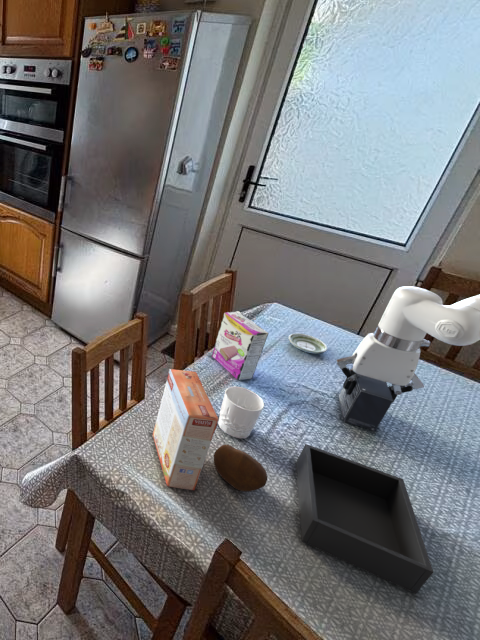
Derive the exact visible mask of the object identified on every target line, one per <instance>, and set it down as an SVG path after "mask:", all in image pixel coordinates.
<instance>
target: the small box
mask: <svg viewBox="0 0 480 640" xmlns="http://www.w3.org/2000/svg"><path fill="white" fill-rule="evenodd" d="M355 382H356V385H355V387H354V389H353V391H352V393H351V395H348V394H346V391H345V389H344V388H343V387H342V388H341V390H340V392H339V394H338V401H339V407H340V411H341V415H342V421H343V422H346V423H348V424H352V425H354V426H357V427H361V428H363V429H367V430H370V431H373V432H376V431H377V429H378V428H379V425H380V424H381V423H382V421H383V419H384V417H385V415H386V414H387V413H388V411H389V409H390V407H391V406H392V404H393V403H394V402H393V398H392V396H391V393H390V391H389V388H388V387H389V386H388V382H385V381H381V380H377V379H374V378H370V377H367V376H361V377H360V378H358V379H356V380H355ZM392 402H393V403H392Z"/></svg>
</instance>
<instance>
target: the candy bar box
mask: <svg viewBox="0 0 480 640" xmlns="http://www.w3.org/2000/svg"><path fill="white" fill-rule="evenodd" d="M268 336H269V332H267V330H265V329H264V328H262V327H261V326H260V325H258V324H257V323H255V322H254V321H253V320H251V319H250V318H249V317H247V316H246V315H245V314H243V313H242V312H240V311H239V310H237V311H236V310H235V311H230V312H229V311H227V312H224V313H223V317H222V320H221V323H220V326H219V330H218V333H217V337H216V340H215V343H214V347H213V350H212V352H211V353H212V354H211V357H212V358H213V359H214V360H215V361H216V362H217V363H218V364H220V365H221V366H222V367H223V368H224V369H225V370H226V371H227V372H228V373H229V374H230V375H232V377H234V378H235V379H236V380H237V381H243V380H251V379H253V378H254V375H255V372H256V370H257V367H258V364H259V361H260V358H261V355H262V352H263V349H264V346H265V344H266V342H267V338H268Z"/></svg>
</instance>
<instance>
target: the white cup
mask: <svg viewBox="0 0 480 640" xmlns="http://www.w3.org/2000/svg"><path fill="white" fill-rule="evenodd" d="M221 402H222V403H221V406H220V411H219V417H218V419H219V421H218V424H217V425H218V427H219V428H220V429H221V430H222V431H223V433H225V434H227V435H229V436H230V437H232V438H236V439H247V438H249V437H250V435H251V433H252V431H253V429H255V426H256V424H257V422H258V420H259V418H260V417H261V414H262V412H263V410H264V407H265V402H264V400H263V399H262V397H260V395H258V394H257V393H256V392H254V391H252V390H250V389H248V388H246V387H243V386H233V385H232V386H228V387H227V388H226V389H225V390H224V394H223V399H222V401H221Z"/></svg>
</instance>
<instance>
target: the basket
mask: <svg viewBox="0 0 480 640" xmlns="http://www.w3.org/2000/svg"><path fill="white" fill-rule="evenodd" d="M295 470H296V471H295V472H296V473H295V474H296V485H297V486H296V487H297V502H298V512H299V526H300V527H299V528H300V540H301V542H303V543H304V544H307V545H309V546H311V547H313V548H316V549H317V550H320V551H322V552H323V553H326V554H328V555H331V556H334V557H335V558H337V559H339V560H341V561H344V562H346V563H348V564H350V565H353V566H355V567H356V568H359V569H361V570H363V571H365V572H367V573H369V574H372V575H374V576H377V577H379V578H380V579H383V580H384V581H387V582H389V583H392V584H394V585H396V586H398V587H400V588H402V589H405V590H407V591H409V592H411V593H413V594H415V595H416V594H417V593H418V592H419V591H420V589H421V588H422V587H423V586H424V585H425V583H426V582H427V581H428V580H429V579H430V577H431V576H432V575H433V574H434V570H433V567H432V564H431V561H430V558H429V554H428V551H427V549H426V545H425V542H424V538H423V536H422V533H421V529H420V527H419V523H418V520H417V517H416V514H415V511H414V508H413V505H412V502H411V498H410V495H409V492H408V489H407V486H406V484H405V481H404V479H403V478H401V477H398V476H395V475H393V474H390V473H387V472H385V471H382V470H378V469H377V468H373V467H371V466H369V465H365V464H362V463H360V462H357V461H355V460H351V459H349V458H346V457H343V456H341V455H338V454H335V453H333V452H329V451H327V450H325V449H321V448H319V447H315V446H312V445H310V444H307V443H305V444H304V445H303V448H302V450H301V452H300V454H299V456H298V457H297V460H296V463H295Z"/></svg>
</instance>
